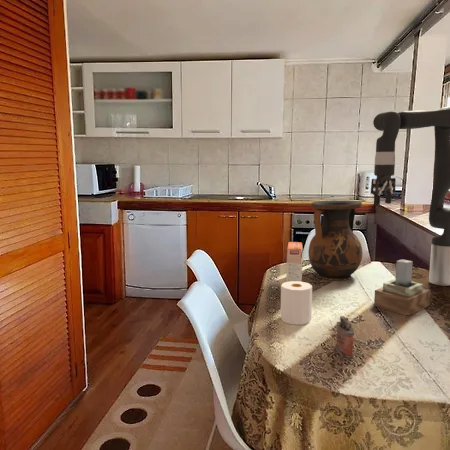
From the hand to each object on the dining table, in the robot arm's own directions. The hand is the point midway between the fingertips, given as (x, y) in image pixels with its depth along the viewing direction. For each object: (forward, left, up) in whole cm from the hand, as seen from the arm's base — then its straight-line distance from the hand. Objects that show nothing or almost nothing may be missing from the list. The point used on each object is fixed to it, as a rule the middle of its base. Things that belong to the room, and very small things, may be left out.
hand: (382, 204), depth 162 cm
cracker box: (+32, -18, -36) cm, 52 cm away
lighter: (+58, +24, -36) cm, 73 cm away
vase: (-4, -25, -36) cm, 44 cm away
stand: (+10, +15, -36) cm, 41 cm away
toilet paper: (+50, -1, -36) cm, 62 cm away
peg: (+10, +15, -30) cm, 35 cm away
